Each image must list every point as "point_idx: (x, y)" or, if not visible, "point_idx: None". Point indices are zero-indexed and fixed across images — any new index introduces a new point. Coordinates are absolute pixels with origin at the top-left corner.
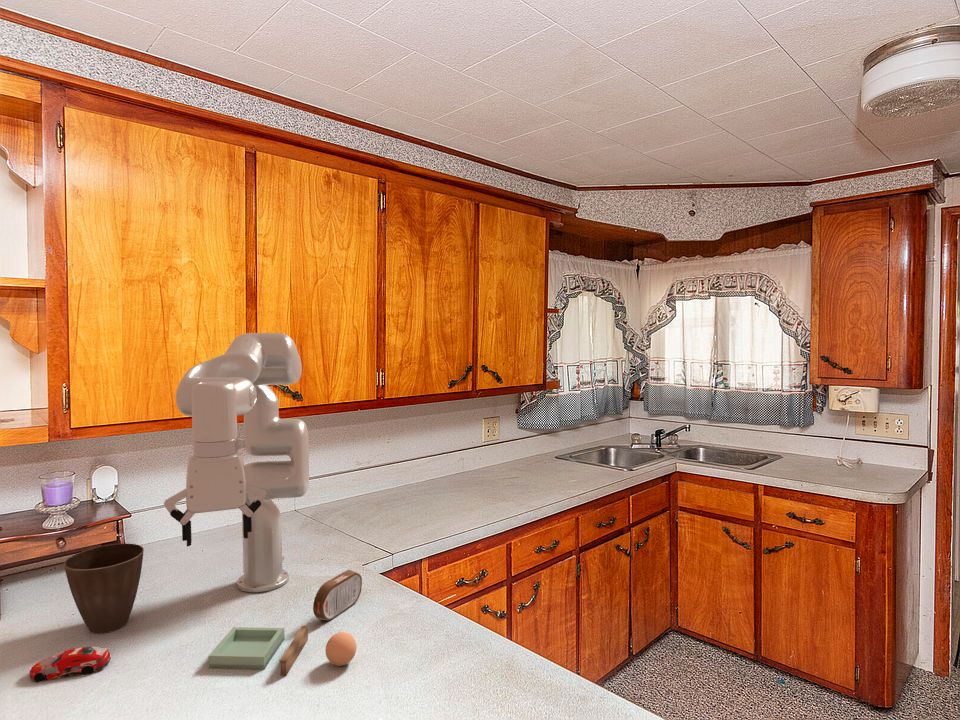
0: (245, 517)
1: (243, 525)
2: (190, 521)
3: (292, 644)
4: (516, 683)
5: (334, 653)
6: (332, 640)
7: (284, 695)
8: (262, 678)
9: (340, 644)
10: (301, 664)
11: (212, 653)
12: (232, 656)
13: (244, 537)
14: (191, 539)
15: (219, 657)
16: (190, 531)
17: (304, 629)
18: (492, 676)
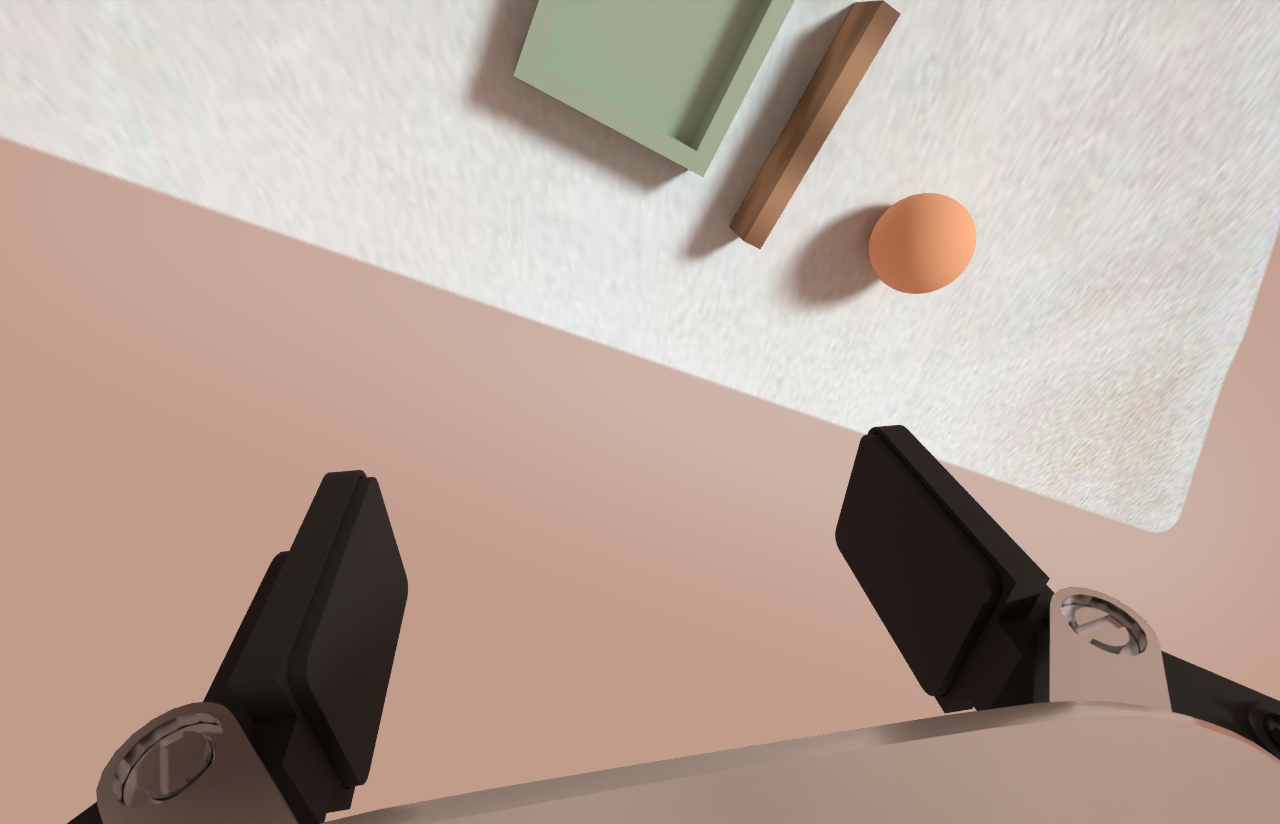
0: (958, 702)
1: (895, 593)
2: (311, 701)
3: (805, 149)
4: (1125, 438)
5: (890, 285)
6: (912, 267)
7: (720, 321)
8: (680, 219)
9: (921, 289)
10: (798, 187)
11: (527, 63)
12: (602, 122)
13: (840, 542)
14: (373, 486)
15: (555, 96)
16: (380, 718)
17: (878, 42)
18: (1114, 406)
